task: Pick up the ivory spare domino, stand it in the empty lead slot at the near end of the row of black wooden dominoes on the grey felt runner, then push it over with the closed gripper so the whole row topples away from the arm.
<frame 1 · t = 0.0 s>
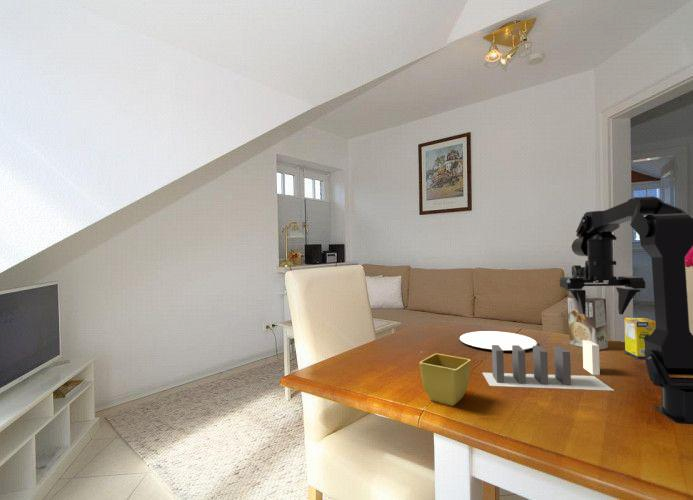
hand: (601, 314, 95), 15 cm above the table, fingers open, 9 cm apart
spare domino: (591, 372, 92), on the table
flower pot: (446, 401, 78), on the table
domino 3: (519, 379, 88), resting on runner mat
supplement box: (642, 356, 104), on the table
runner mat: (543, 382, 87), on the table
domino 4: (498, 379, 89), resting on runner mat
plate: (496, 344, 123), on the table
domino 1: (562, 381, 86), resting on runner mat
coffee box: (588, 346, 116), on the table
domino 2: (540, 380, 87), resting on runner mat
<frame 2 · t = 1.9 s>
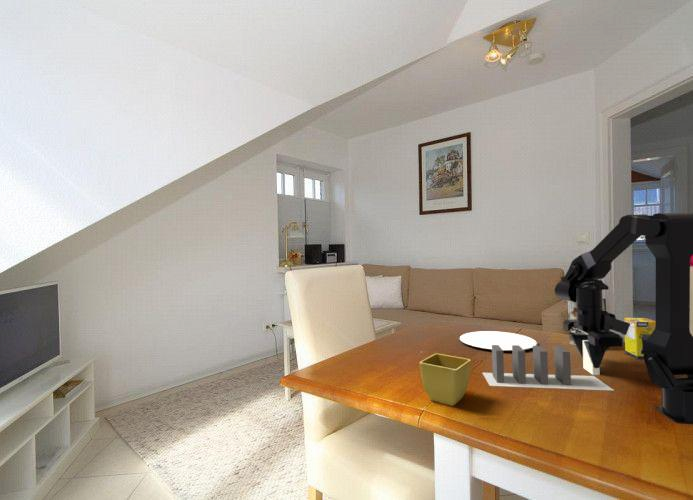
hand: (591, 364, 92), 2 cm above the table, fingers closed on spare domino, 5 cm apart
spare domino: (591, 372, 92), on the table, touching gripper
everything else where it was.
when the fingers open (3 cm above the table, at t = 5.8 s): spare domino stays where it is, resting on runner mat.
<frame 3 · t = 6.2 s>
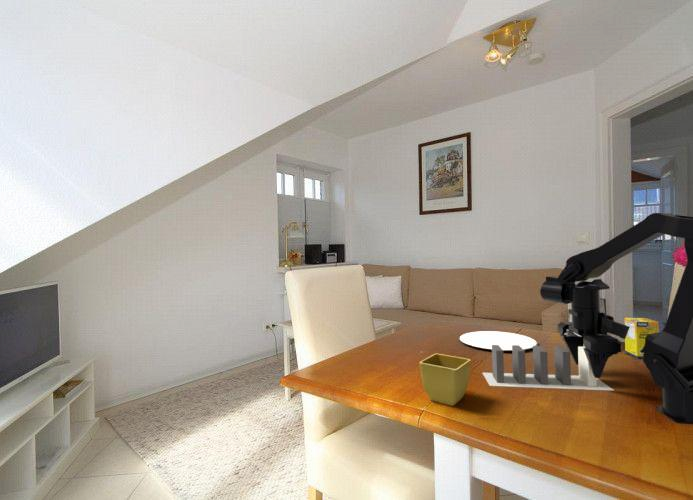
hand: (587, 370, 85), 3 cm above the table, fingers open, 9 cm apart
spare domino: (587, 382, 85), resting on runner mat
everything else where it was.
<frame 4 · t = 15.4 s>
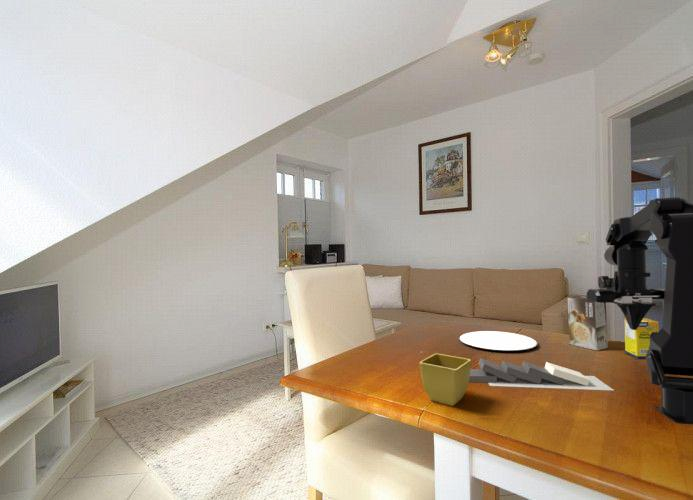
hand: (633, 329, 88), 12 cm above the table, fingers closed
spare domino: (583, 379, 85), point 1 cm above the table, tilted 72°, touching domino 1, runner mat
domino 3: (512, 376, 88), point 1 cm above the table, tilted 67°, touching domino 2, domino 4, runner mat
domino 4: (494, 375, 89), point 1 cm above the table, tilted 92°, touching domino 3, runner mat
domino 1: (558, 378, 86), point 1 cm above the table, tilted 71°, touching domino 2, runner mat, spare domino
domino 2: (537, 377, 87), point 1 cm above the table, tilted 72°, touching domino 1, domino 3, runner mat
everything else where it was.
at the end: domino 4 tilted 92°; spare domino tilted 72°; the gripper is holding nothing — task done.
